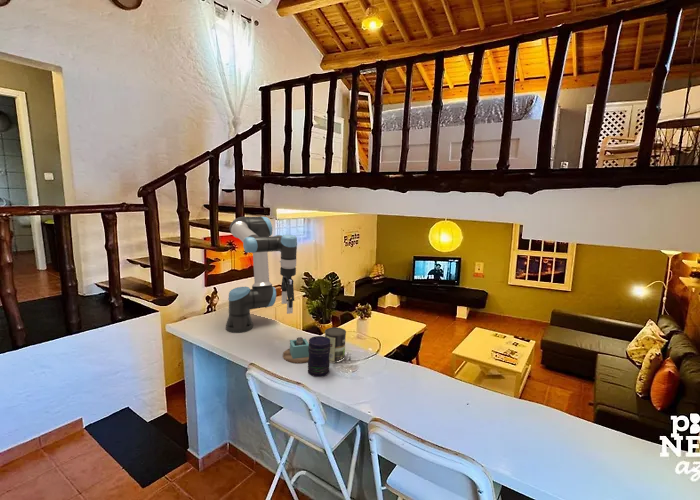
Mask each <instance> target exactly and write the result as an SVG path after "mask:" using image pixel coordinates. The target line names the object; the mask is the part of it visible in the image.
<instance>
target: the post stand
mask: <svg viewBox="0 0 700 500" xmlns="http://www.w3.org/2000/svg"><path fill="white" fill-rule="evenodd" d="M303 339H304V338H303V337H302V336H301V337H299V336H298V337H296V339H295V340H296V342H297V344H296V346H298V345H303ZM282 357H283V358H282V359H284V360H285V361H286V362H288V363H291V364H305V363H308V359H309V357H304V358H295V359H293V358H292V356H291V353H290V348H287V349H285V351H283V352H282Z"/></svg>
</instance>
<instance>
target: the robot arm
mask: <svg viewBox="0 0 700 500" xmlns="http://www.w3.org/2000/svg"><path fill="white" fill-rule="evenodd" d="M229 232H230V234H231V235H232V236H233V237H234V238H236V239H239V240H240V241H241V242H242V243H243V244H242V245H243V246H242V247H243V250H244V252H245V253H251V254H252V262H253V264H252V265H253V279H254V283H253V284H252V285H251V288H250V287H248V286H238V287H235V288H233V289H230V291H229V292H228V299H227V300H228V317H227V319H226V323H225V330H226V331H227V332H230V333H245V332H248V331H251V330H252V329H253V328H254V322H253V319H252V316H251V310H255V309H262V308H270V307H272V306H274V305H275V303H276V300H277V290H276V287H275V286H273V283H271V282H270V272H269V271H270V270H269V269H270V268H269V255H268V254H269V252H280V260H279V263H280V270H279V271H280V272H279V274H280V276H282V280H281V285H280V288H281V304H282V305H285V304H286V314H289V315H290V314H294V313H293V312H294V309H293V308H294V301H295V291H294V290H295V289H294V279H293V277H294V276H296V273H297V272H296V271H297V252H298V251H297V248H298V237H297V236H296V235H293V234H283V235H280V234H276V235H274V236H272V235H273V224H272V222H271V219H270V218H268V217H267V216H262V215H261V216H239V217H237V218H235V219H233V220H232V222H230V225H229Z"/></svg>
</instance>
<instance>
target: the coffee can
mask: <svg viewBox="0 0 700 500" xmlns="http://www.w3.org/2000/svg"><path fill="white" fill-rule="evenodd" d="M346 335H347V331H346V330H345V329H344V328H341V327H328V328H326V329H325V330H324V337H327V338H329V339H330V353H329V360H330V363H332V364H336V363H335V362H337V361H339V360H341V359H343V358H344V357H345V356H346V355H345V353H346ZM345 358H346V357H345Z"/></svg>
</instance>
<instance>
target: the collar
mask: <svg viewBox="0 0 700 500" xmlns="http://www.w3.org/2000/svg"><path fill="white" fill-rule="evenodd" d="M296 340H297V339H290V340H289V349H290V353H291V356H292V358H293V359H295V358H304V357H309V352H308V346H309V341H308V340H307V339H306V338H303V345H298V346H296V344H297V342H296Z"/></svg>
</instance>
